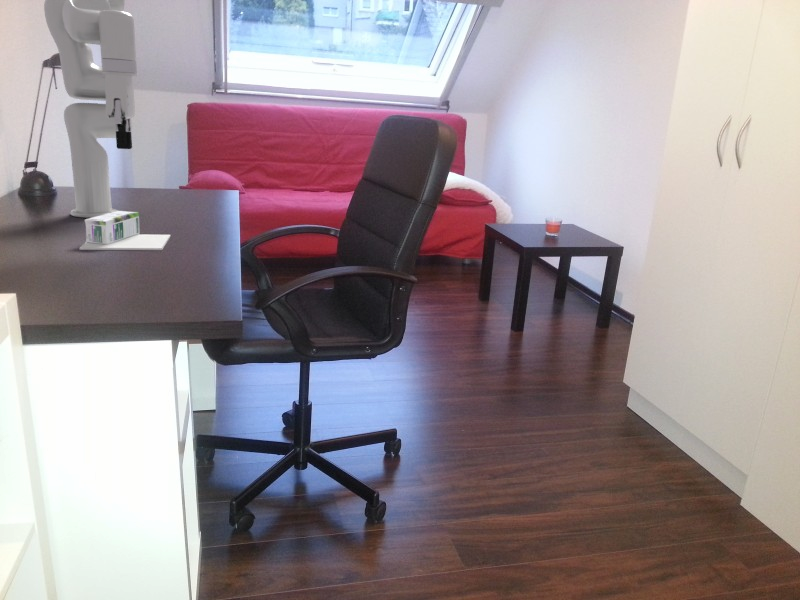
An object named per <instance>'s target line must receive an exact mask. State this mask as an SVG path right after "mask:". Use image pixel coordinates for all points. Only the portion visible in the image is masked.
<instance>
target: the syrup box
mask: <svg viewBox="0 0 800 600" xmlns="http://www.w3.org/2000/svg"><path fill="white" fill-rule="evenodd" d="M84 227H85V229H84V231H85V243H86V242H88V243H99V244H110V243H113V242H116V241H119V240H122V239H124V238H127V237H130V236H133V235H137V234H140V232H141V231H140V214H139V211H125V210H117V211H116V212H112V213H108V214H104V215H100V216H97V217H93V218H86V219H85V218H84Z"/></svg>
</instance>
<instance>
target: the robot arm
mask: <svg viewBox="0 0 800 600" xmlns="http://www.w3.org/2000/svg"><path fill="white" fill-rule="evenodd" d="M43 8H44V11H43V12H44V17H45V22H46V26H47V27H48V30H49V32H50V35H51V37H52V39H53V41H54V43H55V45H56V47H57V50H58V53H59V60H60V68H61V73H62V78H63V85H64V88H65V92H66V93H67V94H68V96H69V97H70V98H72V99H74V100H84V101H98V102H99V101H101V102H102V101H103V102H105V103H96V102H75V103H70V104H68V105H67V106H66V107H65V109H64V112H63V120H64V125H65V128H66V132H67V137H68V141H69V148H70V157H71V168H72V178H73V188H74V189H73V190H74V202H75V208H74V209H71V210H70V215H71V216H73V217H76V218H84V219H85V218H86V219H89V218H93V217H97V216H100V215H104V214H108V213H112V212H116V211H118V209H116V208H112V196H111V195H112V194H111V183H110V171H109V159H108V158H109V157H108V153H107V151H106V149H105V148H104V147H103V146H102V145H101V144H100V142H98V140H97V139H115V141H116V148H117V149H118V150H119V149H120V150H123V149H124V150H131V149H132V148H133V138H132V129H133V125H132V123H133V122H132V118H134V116H135V114H136V113H135V111H136V110H135V94H134V93H135V92H134V91H135V90H134V81H133V80H134V79H133V76H134V77H137V76H138V71H137V52H136V50H137V49H136V35H135V32H136V31H135V30H136V29H135V19H134V17H133V15H132V14H131V13H130V12H126V11H124V8H125V0H45V1H44V5H43ZM90 45H99V46H100V58H101V59H100V63H101V65H96V64H95V62H94V58H93V56H94V55H93V51H92V48H91V46H90Z"/></svg>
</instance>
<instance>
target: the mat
mask: <svg viewBox="0 0 800 600" xmlns="http://www.w3.org/2000/svg"><path fill="white" fill-rule="evenodd" d="M170 238H171V234H144V233H143V234H140V233H139V234H137V235H133V236H130V237H127V238H124V239H122V240H119V241H116V242H113V243H110V244H99V243H88V242H86V241H85V242H84V243H83V244H82V245H81V246H80V247H79V249H78V250H79V251H86V250H87V251H96V250H97V251H162V250H163V249H164V247H165V246H166V245H167V244H168V241H169V240H170Z"/></svg>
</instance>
